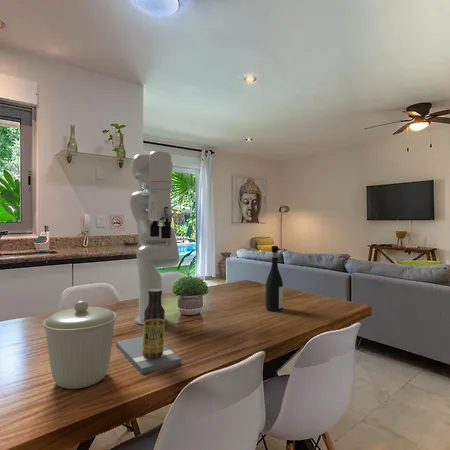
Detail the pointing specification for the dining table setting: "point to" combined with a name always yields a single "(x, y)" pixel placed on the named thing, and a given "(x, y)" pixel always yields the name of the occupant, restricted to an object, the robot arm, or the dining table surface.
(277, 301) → the wine bottle
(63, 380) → the canister
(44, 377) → the dining table surface
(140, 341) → the board
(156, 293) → the sauce bottle
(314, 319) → the dining table surface
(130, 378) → the dining table surface
